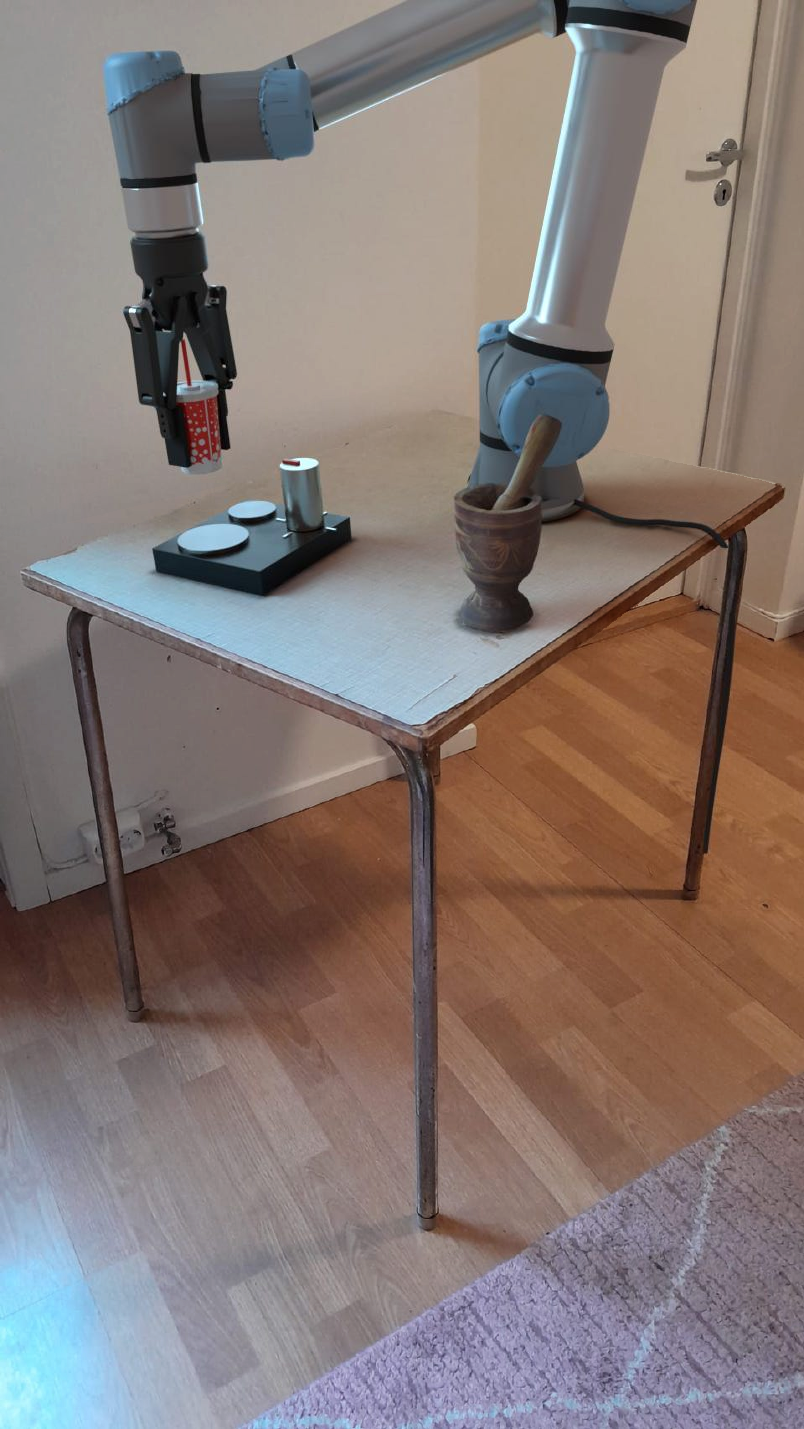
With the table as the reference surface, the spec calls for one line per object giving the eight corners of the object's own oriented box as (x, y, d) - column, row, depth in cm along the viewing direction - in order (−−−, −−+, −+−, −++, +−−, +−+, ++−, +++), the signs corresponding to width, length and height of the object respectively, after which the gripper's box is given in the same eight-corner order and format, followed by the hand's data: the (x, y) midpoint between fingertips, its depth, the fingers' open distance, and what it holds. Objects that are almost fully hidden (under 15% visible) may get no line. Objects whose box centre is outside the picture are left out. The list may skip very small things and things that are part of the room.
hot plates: (303, 512, 130) (303, 507, 129) (218, 560, 118) (217, 555, 118) (248, 502, 134) (247, 498, 133) (160, 548, 122) (160, 543, 122)
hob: (358, 541, 129) (356, 516, 127) (269, 597, 116) (266, 571, 114) (250, 521, 136) (247, 497, 135) (156, 572, 124) (151, 547, 122)
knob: (332, 521, 126) (326, 458, 122) (310, 534, 123) (303, 469, 119) (301, 515, 129) (294, 453, 125) (278, 528, 125) (271, 465, 121)
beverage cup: (210, 456, 122) (192, 331, 115) (239, 467, 118) (222, 338, 110) (164, 468, 119) (143, 340, 111) (192, 480, 114) (171, 348, 107)
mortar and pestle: (497, 583, 116) (497, 402, 106) (567, 599, 112) (574, 412, 101) (441, 624, 108) (435, 432, 98) (514, 643, 104) (516, 444, 93)
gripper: (199, 219, 114) (228, 430, 126) (70, 244, 100) (115, 478, 112) (254, 220, 111) (277, 437, 123) (127, 247, 97) (168, 487, 109)
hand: (200, 456), depth 117 cm, fingers closed on beverage cup, 6 cm apart
